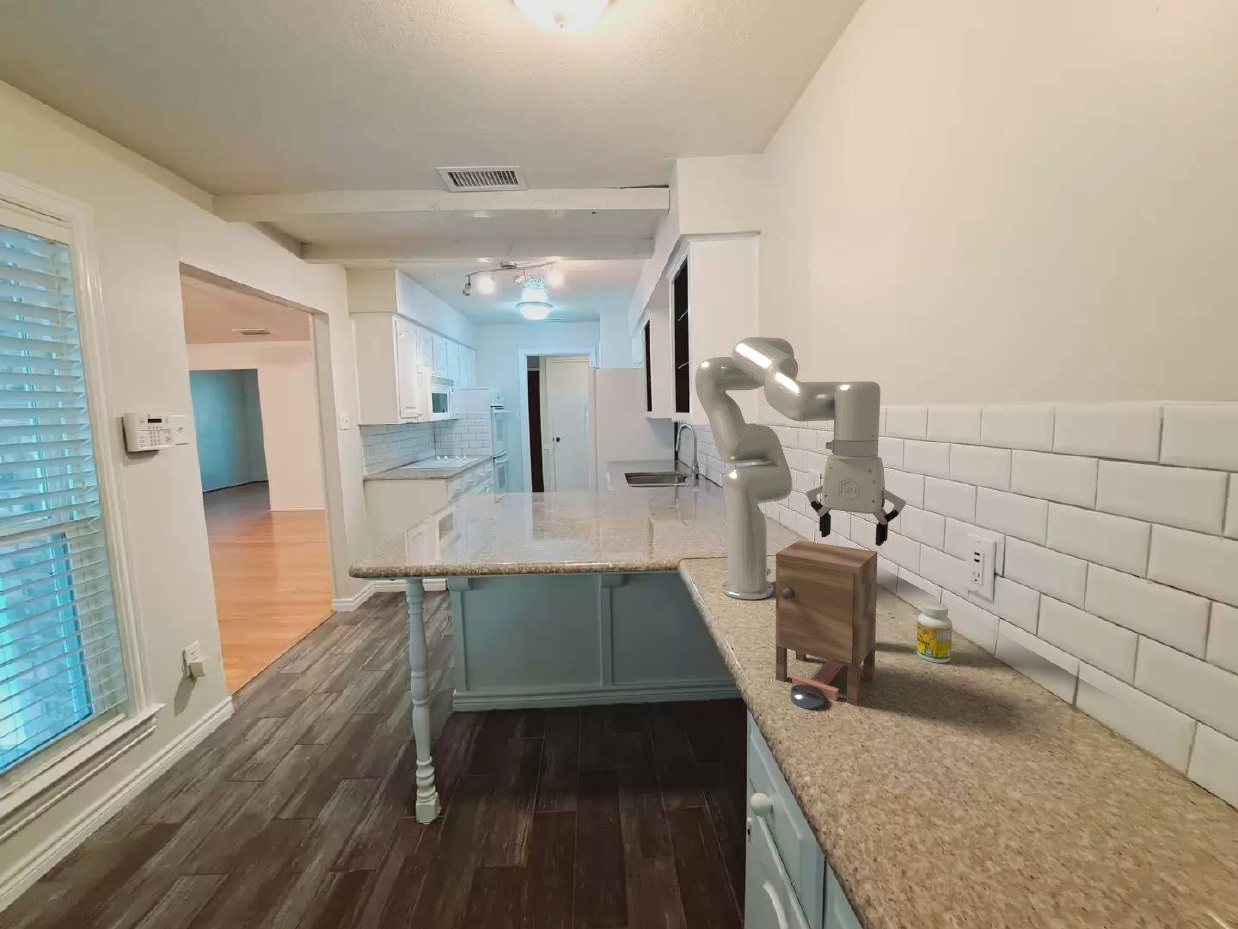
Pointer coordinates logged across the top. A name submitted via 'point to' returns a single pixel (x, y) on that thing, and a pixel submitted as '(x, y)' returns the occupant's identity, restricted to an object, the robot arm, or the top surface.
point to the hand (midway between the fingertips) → (851, 539)
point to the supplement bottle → (934, 633)
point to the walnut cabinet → (827, 608)
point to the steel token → (807, 697)
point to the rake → (822, 680)
